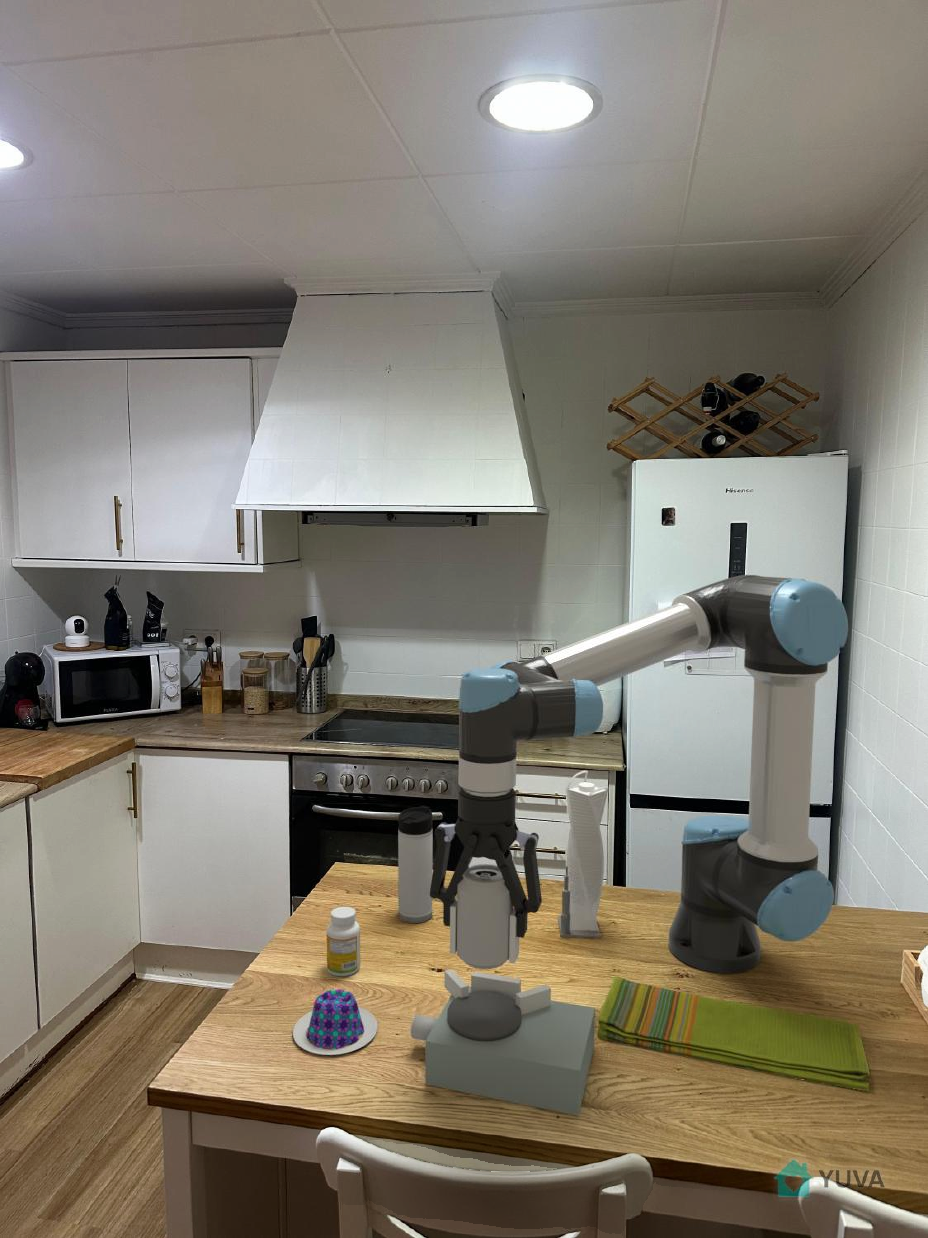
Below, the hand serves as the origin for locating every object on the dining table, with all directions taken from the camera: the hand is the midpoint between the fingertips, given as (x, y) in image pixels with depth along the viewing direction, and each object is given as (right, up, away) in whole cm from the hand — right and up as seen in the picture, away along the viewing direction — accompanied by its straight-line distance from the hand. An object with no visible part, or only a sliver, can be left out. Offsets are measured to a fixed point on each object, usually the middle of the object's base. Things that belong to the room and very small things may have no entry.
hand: (484, 953), depth 113 cm
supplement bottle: (-22, -13, +25) cm, 36 cm away
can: (0, -1, 0) cm, 1 cm away
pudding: (-21, -15, +8) cm, 27 cm away
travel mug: (-12, -10, +44) cm, 46 cm away
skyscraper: (+19, -11, +40) cm, 45 cm away
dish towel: (+35, -16, +9) cm, 39 cm away
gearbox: (+2, -15, +1) cm, 16 cm away
